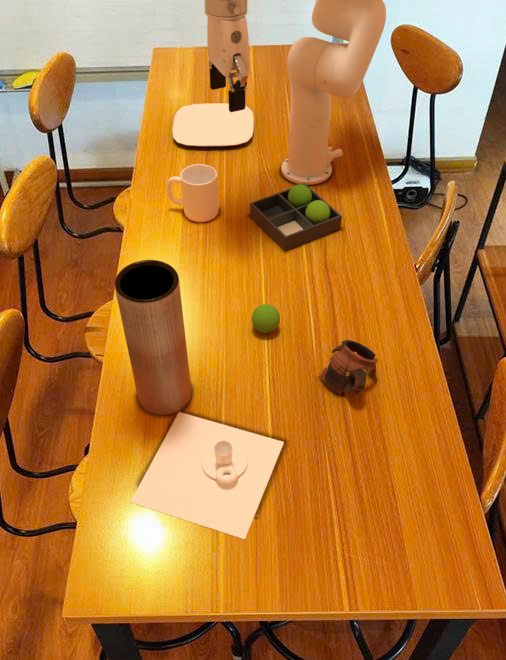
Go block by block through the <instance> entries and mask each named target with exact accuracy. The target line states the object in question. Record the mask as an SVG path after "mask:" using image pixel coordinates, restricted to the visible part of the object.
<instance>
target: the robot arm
mask: <svg viewBox="0 0 506 660" xmlns="http://www.w3.org/2000/svg"><path fill="white" fill-rule="evenodd" d="M203 1H204V15H205V16H206V17H207V21H206V22H207V24H206V25H207V26H206V29H207V30H206V31H207V32H206V41H207V54H208V59H209V60H208V66H209V89H211V90H212V91H215V90H219V89H224V88H226V87H227V82H228V85H229V89H230V90H229V89H228V91H227V92H228V103H229V111H230V112H235V111H240V110H244V109H245V106H246V90H247V85H248V82H247V81H248V77H249V73H250V68H251V67H250V65H251V64H250V42H249V39H250V38H249V28H248V22H247V17H246V15H248V0H203ZM386 19H387V7H386V4H385V2H384V1H383V0H315V4H314V5H313V9H312V13H311V23H312V25H313V28H315V30H317V31H318V32H320V33H322V34H324V35H328V36H330V37H333V38H336V39H341V40H343V41H346V42H348V45H347V47H346V46H343V45H340V44H337V43H334V42H331V41H328V40H325V39H322V38H318V37H312V36H304V37H301V38H298V39H297V40H296V41H294V42H293V44H292V45H291V47H290V49H289V51H288V54H287V61H286V65H287V67H286V68H287V75H288V81H289V90H290V93H289V95H290V104H289V123H288V124H289V127H288V130H289V131H288V152H287V158H286V159H284V160H283V162H282V163H281V171H280V172H281V174H282V176H283V177H284V178H285V179H286V180H288V181H289V182H291V183H294V184H296V185H299V184H304V183H305V184H306V185H307V186H311V185H318V184H320V183H323V182H325V181H327V180H328V179H329V178H330V177H331V176H332V172H333V166H332V164H331V162H333V160H334V159H338V158H340V157H342V156H343V155H344V152H343V149H342V148H337V149H334V150H333V147H332V146H331V145H330V146H329V138H330V127H331V115H332V98H331V95H332V96H336V97H339V98H343V99H347V98H351V97H353V96H354V95H355V94H356V93H357V92H358V91H359V89H360V88H361V85H362V84H363V81H364V79H365V77H366V74H367V72H368V70H369V67H370V65H371V62H372V59H373V57H374V55H375V52H376V50H377V48H378V45H379V43H380V40H381V38H382V36H383V35H382V34H383V32H384V29H385V26H386ZM232 71H233V72H232ZM234 71H235V72H234ZM234 78H237V79H236V80H235V82H234Z"/></svg>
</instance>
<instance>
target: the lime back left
mask: <svg viewBox="0 0 506 660" xmlns="http://www.w3.org/2000/svg"><path fill="white" fill-rule="evenodd" d="M307 186H308V185H307ZM307 186H305V185H301V184H295V185H294V186H292V187H290V188H291V189H290V188H289V189H290V191H289V193H288V201H289V203H290V204H291V205H293V206H294V207H295V208H298V207H301V206H304V205H306V204H309V203H311V200H312V193H311V191H310V189H309V188H308V187H309V186H308V187H307Z"/></svg>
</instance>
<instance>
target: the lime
mask: <svg viewBox="0 0 506 660" xmlns="http://www.w3.org/2000/svg"><path fill="white" fill-rule="evenodd" d="M280 322H281V315H280V312H279V310H278V309H277V308H276V306H274V305H271V304H268V303H264V304H260V305H258V306H257V307H255V308H254V309H253V312H252V314H251V323H252V326H253V327H254V328H255V330H257V331H258V332H260V333H264V334H268V333H272V332H274V331H275V330H276V329H277V328H278V327H279V325H280Z"/></svg>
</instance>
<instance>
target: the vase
mask: <svg viewBox="0 0 506 660" xmlns="http://www.w3.org/2000/svg"><path fill="white" fill-rule="evenodd" d="M180 285H181V284H180V277H179V274H178V272H177V270H176V269H175V268H174V267H173V266H172V265H170V264H169V263H168V262H167V263H166V262H165V261H161V260H157V259H142V260H138V261H134V262H132V263H129V264H127V265H126V266H125V267H123V268H122V269H121V270H120V271H119V272H118V274H116V276H115V279H114V290H115V294H116V300H117V303H118V305H117V306H118V310H119V315H120V318H121V323H122V329H123V333H124V337H125V343H126V348H127V353H128V357H129V362H130V367H131V372H132V377H133V381H134V386H135V391H136V396H137V399H138V402H139V404H140V406H141V407H142V408H143V409H144V410H146V411H147V412H149V413H151V414H154V415H158V416H167V415H171V414H176V413H178V412H180V411H181V410H183V409H184V408H185V407H186V406H187V405H188V404H189V402H190V400H191V397H192V383H191V382H192V381H191V375H190V366H189V357H188V349H187V348H188V347H187V339H186V337H187V336H186V330H185V321H184V312H183V311H184V310H183V302H182V293H181V286H180Z"/></svg>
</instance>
